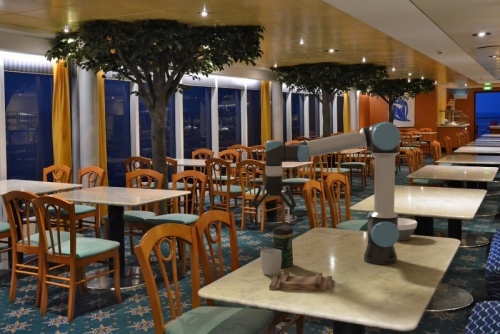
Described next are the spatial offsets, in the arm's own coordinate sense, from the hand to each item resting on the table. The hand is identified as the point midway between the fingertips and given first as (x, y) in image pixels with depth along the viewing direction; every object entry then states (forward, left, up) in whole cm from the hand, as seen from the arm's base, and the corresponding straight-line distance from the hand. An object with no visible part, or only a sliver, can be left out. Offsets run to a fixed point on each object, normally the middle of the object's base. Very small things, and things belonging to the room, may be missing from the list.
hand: (273, 221), depth 248 cm
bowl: (-59, -64, -21) cm, 90 cm away
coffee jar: (-4, -3, -21) cm, 22 cm away
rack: (-15, +24, -21) cm, 35 cm away
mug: (-1, +8, -21) cm, 23 cm away
